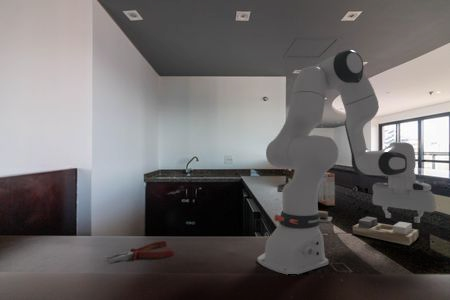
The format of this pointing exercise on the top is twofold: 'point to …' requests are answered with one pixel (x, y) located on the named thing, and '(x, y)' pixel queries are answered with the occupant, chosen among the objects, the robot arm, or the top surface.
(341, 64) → the robot arm
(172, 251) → the pliers
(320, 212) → the packaged product
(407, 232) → the white rectangular block
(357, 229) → the rack
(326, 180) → the cracker box
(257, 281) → the top surface
